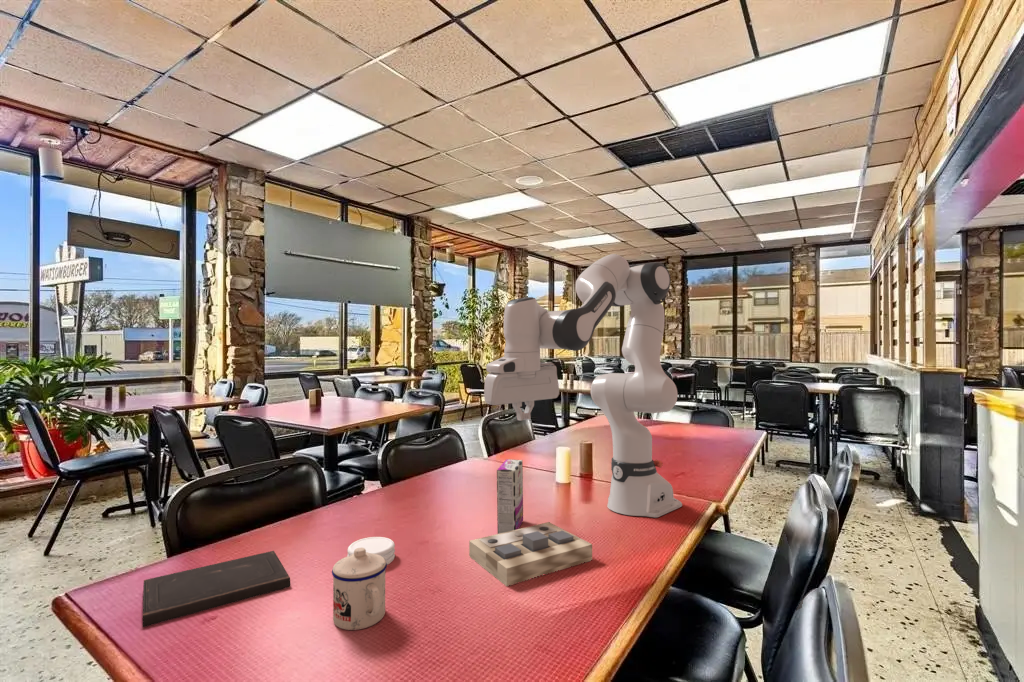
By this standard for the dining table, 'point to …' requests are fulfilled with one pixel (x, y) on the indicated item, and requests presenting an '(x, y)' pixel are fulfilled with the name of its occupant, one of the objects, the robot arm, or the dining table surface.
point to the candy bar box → (510, 495)
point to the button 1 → (507, 551)
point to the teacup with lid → (359, 590)
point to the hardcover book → (211, 587)
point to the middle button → (535, 541)
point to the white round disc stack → (375, 547)
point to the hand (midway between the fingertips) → (523, 419)
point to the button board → (528, 554)
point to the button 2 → (560, 537)
